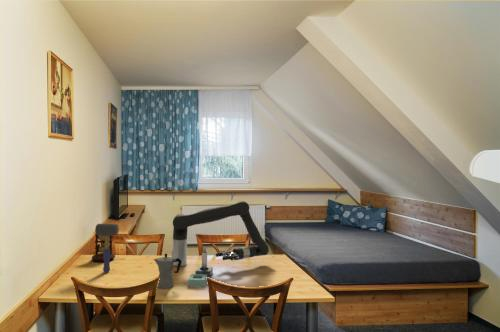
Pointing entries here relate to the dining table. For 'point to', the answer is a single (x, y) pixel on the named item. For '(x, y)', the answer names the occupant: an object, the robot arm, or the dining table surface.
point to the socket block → (204, 271)
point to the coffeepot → (166, 271)
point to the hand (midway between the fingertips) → (219, 256)
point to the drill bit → (204, 259)
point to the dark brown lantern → (102, 248)
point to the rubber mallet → (106, 240)
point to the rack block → (197, 280)
